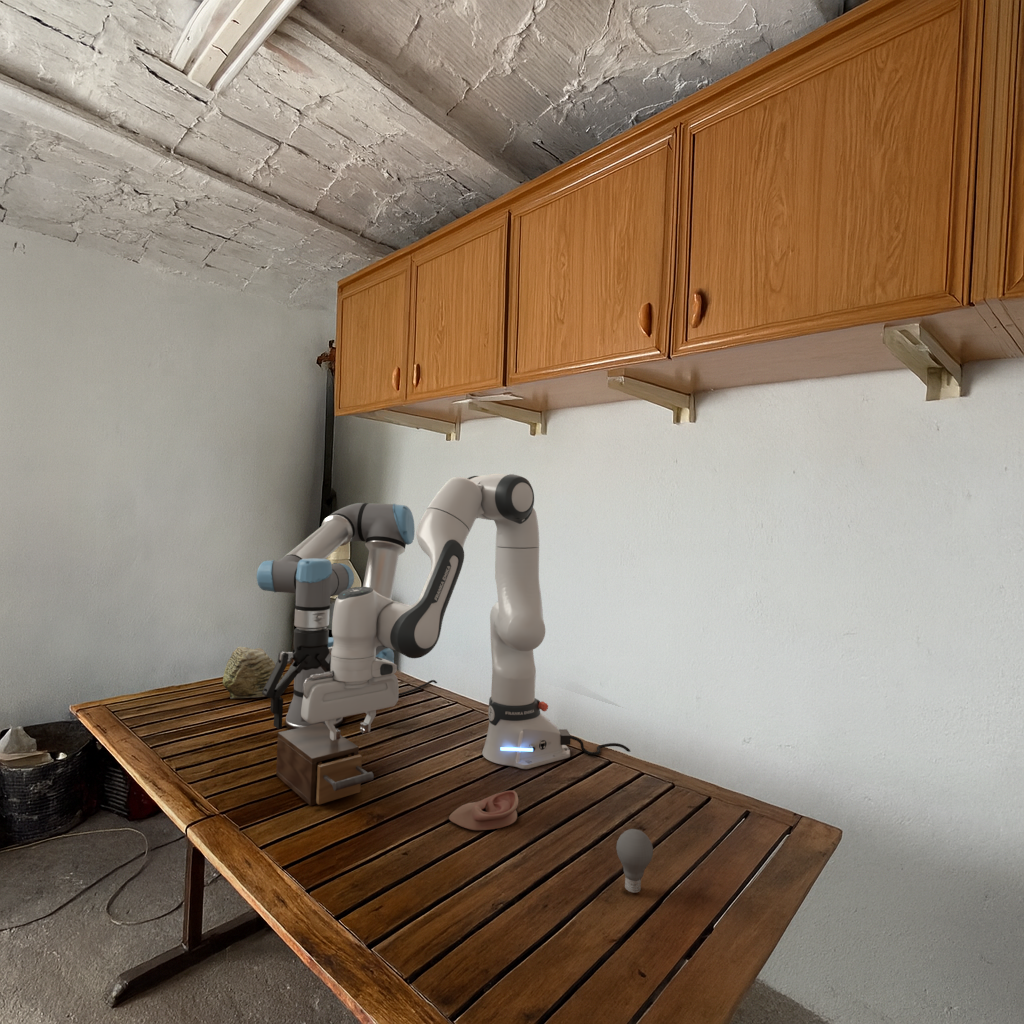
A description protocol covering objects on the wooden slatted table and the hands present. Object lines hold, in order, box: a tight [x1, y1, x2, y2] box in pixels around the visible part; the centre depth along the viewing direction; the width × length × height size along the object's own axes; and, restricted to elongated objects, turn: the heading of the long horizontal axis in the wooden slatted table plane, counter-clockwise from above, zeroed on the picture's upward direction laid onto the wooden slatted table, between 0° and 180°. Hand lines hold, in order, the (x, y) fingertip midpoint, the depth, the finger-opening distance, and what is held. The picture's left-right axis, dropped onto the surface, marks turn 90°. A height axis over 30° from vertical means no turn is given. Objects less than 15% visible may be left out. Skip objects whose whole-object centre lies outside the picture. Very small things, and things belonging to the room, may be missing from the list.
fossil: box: [222, 646, 284, 699], centre depth 198 cm, size 9×18×15 cm, turn 132°
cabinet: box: [275, 723, 360, 806], centre depth 140 cm, size 18×11×10 cm, turn 42°
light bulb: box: [615, 828, 654, 894], centre depth 106 cm, size 6×6×10 cm
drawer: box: [315, 754, 375, 806], centre depth 135 cm, size 23×9×8 cm, turn 42°
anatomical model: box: [448, 790, 519, 831], centre depth 128 cm, size 13×4×12 cm
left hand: (307, 721), depth 143 cm, fingers open, 13 cm apart
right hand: (350, 735), depth 129 cm, fingers open, 5 cm apart
